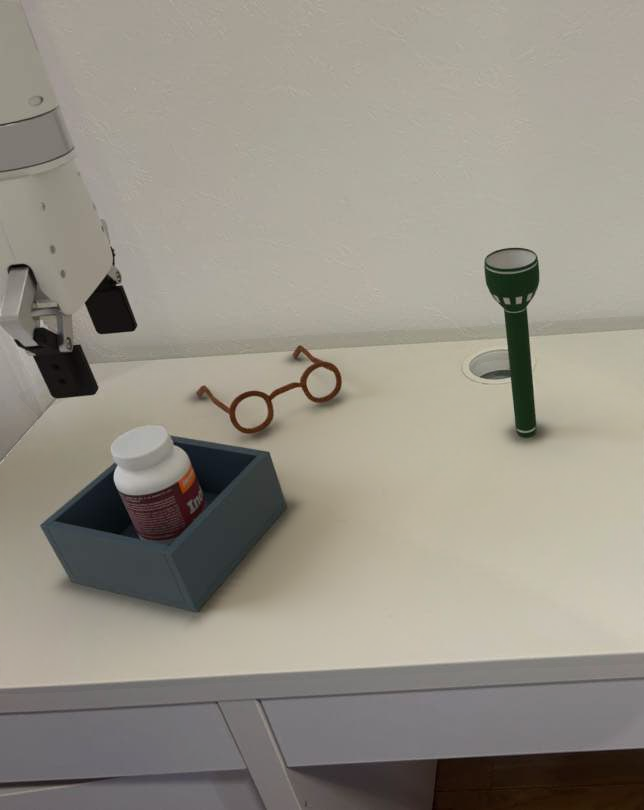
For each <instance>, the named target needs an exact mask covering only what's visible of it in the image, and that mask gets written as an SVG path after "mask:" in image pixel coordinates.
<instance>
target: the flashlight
mask: <svg viewBox="0 0 644 810" xmlns="http://www.w3.org/2000/svg"><path fill="white" fill-rule="evenodd" d="M483 268H484V279H485V284H486V287H487V289H488V291H489V294H490V295H491V297H492V298H493V300H494V301H495V302H496V303H497V304H499V306H500V307H501V308H502V309H503V313H504V323H505V324H504V325H505V334H506V343H507V344H506V345H507V354H508V364H509V365H508V366H509V375H510V384H511V393H512V394H511V396H512V406H513V413H514V424H515V425H514V426H515V431H516V433H517V435H518V436H519V437H521V438H524V439H525V438H526V439H527V438H532V437H534V435H535V434H536V432H537V428H538V427H537V417H536V404H535V391H534V379H533V366H532V353H531V342H530V329H529V317H528V306H529V304H530V303H531V301H532V300H533V299H534V297H535V296H536V294H537V291H538V290H539V289H538V288H539V284H540V264H539V258H538V255H537V253H536V252H534V251H533V250H531V249H528V248H524V247H506V248H501V249H498V250H495V251H492V252H490V253H489V254H487V255H486V256H485V258H484V266H483Z"/></svg>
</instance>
